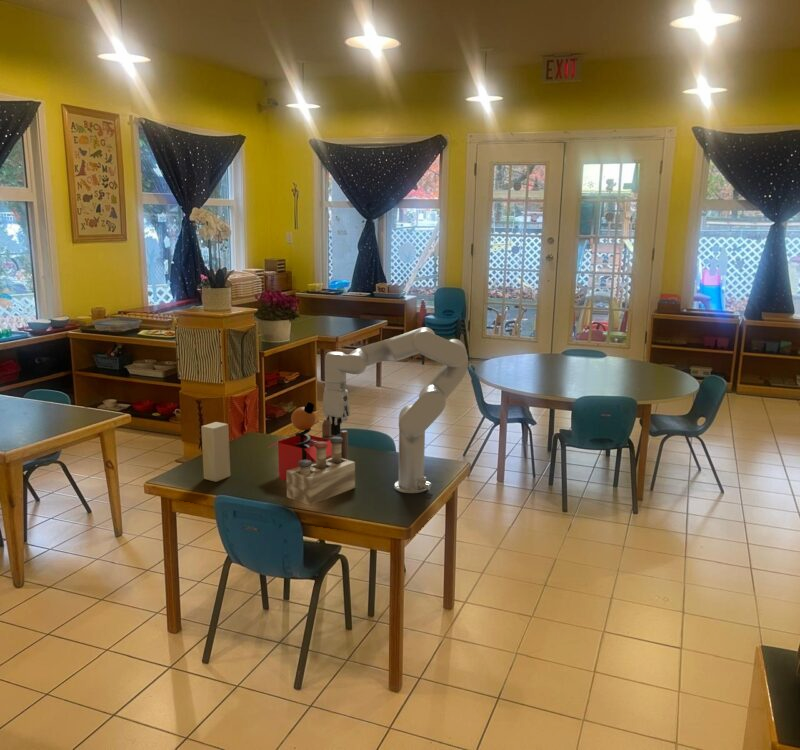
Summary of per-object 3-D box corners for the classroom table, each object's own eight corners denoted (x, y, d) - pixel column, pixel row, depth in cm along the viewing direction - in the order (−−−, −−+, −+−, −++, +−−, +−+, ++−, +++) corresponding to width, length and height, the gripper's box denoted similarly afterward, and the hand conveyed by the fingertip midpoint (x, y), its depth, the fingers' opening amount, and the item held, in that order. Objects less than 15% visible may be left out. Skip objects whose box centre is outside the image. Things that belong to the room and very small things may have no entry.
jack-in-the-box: (343, 477, 284) (342, 402, 278) (316, 489, 272) (315, 410, 266) (294, 464, 299) (292, 392, 293) (266, 474, 286) (264, 400, 280)
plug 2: (345, 462, 273) (345, 438, 271) (336, 465, 270) (336, 441, 268) (336, 459, 276) (336, 435, 274) (327, 462, 272) (327, 438, 271)
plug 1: (314, 486, 262) (314, 461, 260) (305, 489, 259) (304, 464, 257) (305, 483, 265) (305, 458, 263) (296, 486, 261) (295, 462, 259)
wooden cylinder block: (355, 487, 274) (354, 462, 272) (310, 505, 256) (309, 478, 254) (331, 480, 281) (331, 455, 279) (286, 497, 264) (286, 470, 262)
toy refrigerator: (217, 472, 288) (214, 421, 284) (231, 476, 285) (228, 423, 280) (202, 478, 282) (199, 425, 277) (216, 482, 278) (213, 428, 274)
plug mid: (330, 467, 267) (330, 443, 265) (321, 470, 264) (320, 446, 262) (321, 464, 270) (320, 440, 268) (312, 467, 266) (311, 443, 264)
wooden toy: (333, 471, 291) (332, 410, 285) (318, 469, 293) (317, 409, 288) (349, 460, 305) (348, 401, 300) (334, 458, 307) (334, 400, 302)
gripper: (357, 387, 265) (357, 436, 269) (328, 381, 274) (328, 428, 278) (343, 390, 259) (343, 440, 263) (313, 384, 268) (314, 432, 272)
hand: (335, 434), depth 271 cm, fingers closed
